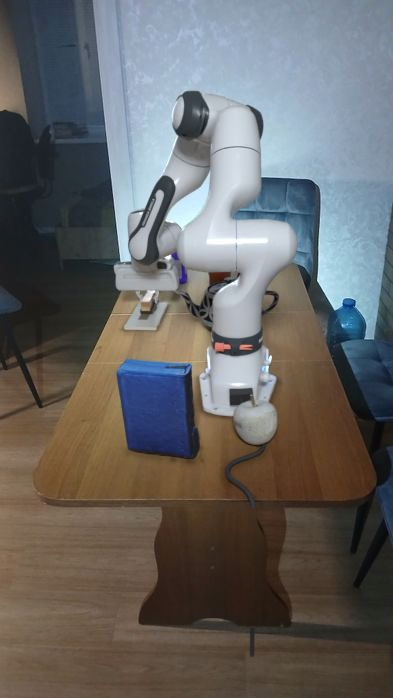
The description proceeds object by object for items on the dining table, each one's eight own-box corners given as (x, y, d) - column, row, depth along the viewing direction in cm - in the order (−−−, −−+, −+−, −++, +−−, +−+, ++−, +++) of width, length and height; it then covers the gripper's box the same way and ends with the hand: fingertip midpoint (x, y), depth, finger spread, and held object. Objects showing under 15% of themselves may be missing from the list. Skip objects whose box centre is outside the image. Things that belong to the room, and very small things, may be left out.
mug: (212, 301, 170) (211, 272, 165) (204, 293, 177) (203, 265, 172) (245, 296, 173) (245, 267, 168) (235, 288, 180) (235, 260, 176)
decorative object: (266, 458, 97) (267, 415, 92) (226, 445, 101) (225, 403, 96) (283, 433, 103) (285, 392, 99) (245, 422, 107) (245, 382, 103)
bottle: (171, 278, 193) (168, 233, 185) (186, 277, 193) (184, 232, 185) (173, 284, 186) (169, 238, 178) (188, 283, 187) (185, 237, 179)
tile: (156, 330, 151) (156, 327, 151) (124, 329, 152) (123, 326, 152) (168, 305, 169) (168, 302, 168) (139, 304, 170) (139, 301, 170)
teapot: (177, 315, 160) (174, 270, 153) (273, 311, 160) (274, 265, 153) (175, 342, 143) (172, 292, 136) (283, 337, 143) (285, 287, 136)
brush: (152, 314, 159) (151, 302, 157) (139, 314, 159) (138, 302, 157) (159, 301, 168) (158, 289, 166) (147, 301, 169) (146, 289, 167)
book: (201, 447, 101) (197, 359, 91) (195, 464, 96) (190, 373, 87) (134, 438, 104) (123, 353, 95) (125, 455, 99) (112, 367, 90)
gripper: (110, 264, 155) (115, 306, 161) (175, 264, 152) (178, 306, 159) (115, 258, 160) (120, 298, 167) (178, 258, 158) (181, 299, 164)
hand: (149, 302), depth 163 cm, fingers closed on brush, 2 cm apart
